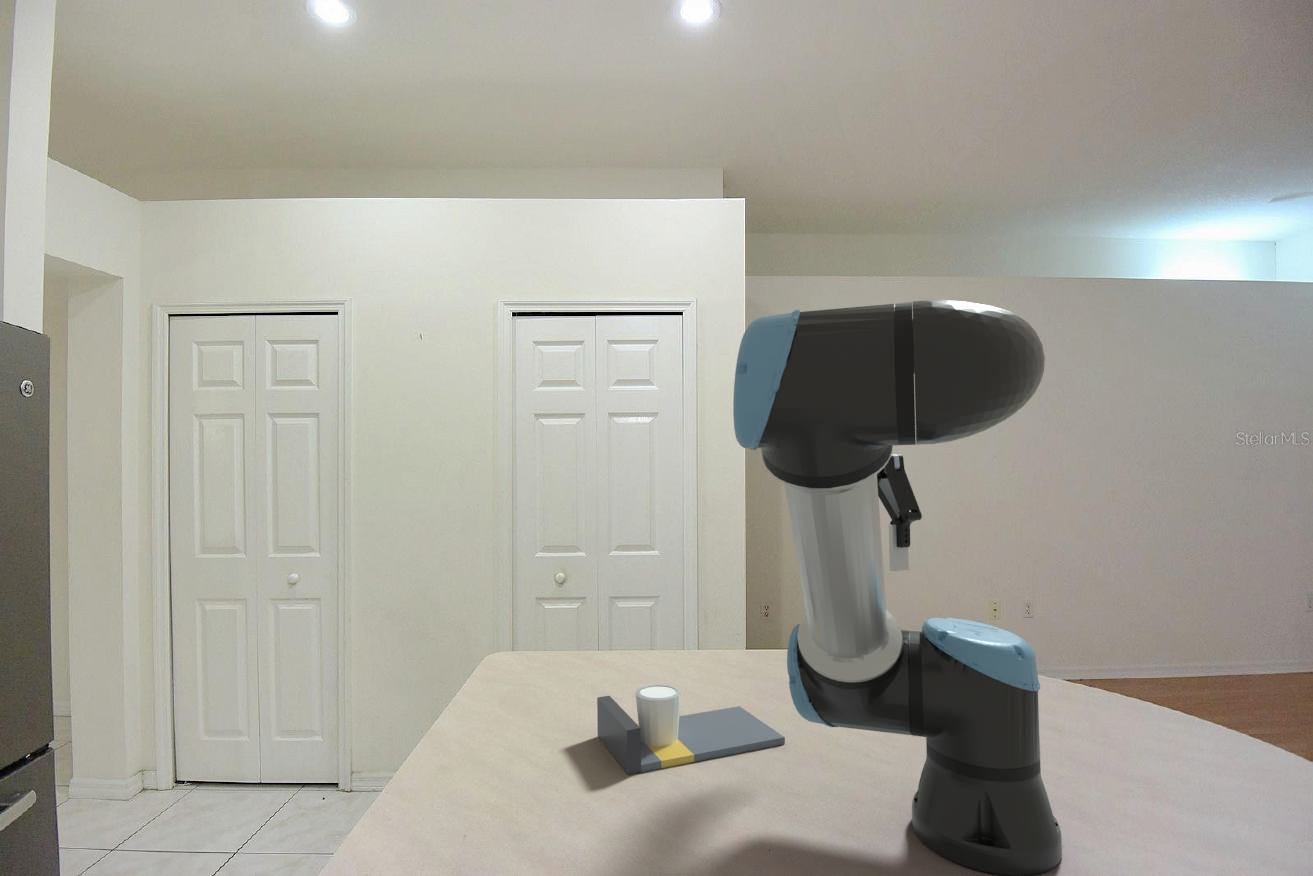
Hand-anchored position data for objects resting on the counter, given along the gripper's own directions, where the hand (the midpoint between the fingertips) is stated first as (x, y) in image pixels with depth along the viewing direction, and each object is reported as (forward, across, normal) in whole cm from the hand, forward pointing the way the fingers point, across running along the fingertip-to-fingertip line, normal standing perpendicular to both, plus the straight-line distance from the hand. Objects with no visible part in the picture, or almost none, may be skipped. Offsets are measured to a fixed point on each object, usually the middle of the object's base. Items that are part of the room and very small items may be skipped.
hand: (867, 564), depth 102 cm
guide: (+27, +12, +24) cm, 38 cm away
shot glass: (+26, +12, +30) cm, 41 cm away
